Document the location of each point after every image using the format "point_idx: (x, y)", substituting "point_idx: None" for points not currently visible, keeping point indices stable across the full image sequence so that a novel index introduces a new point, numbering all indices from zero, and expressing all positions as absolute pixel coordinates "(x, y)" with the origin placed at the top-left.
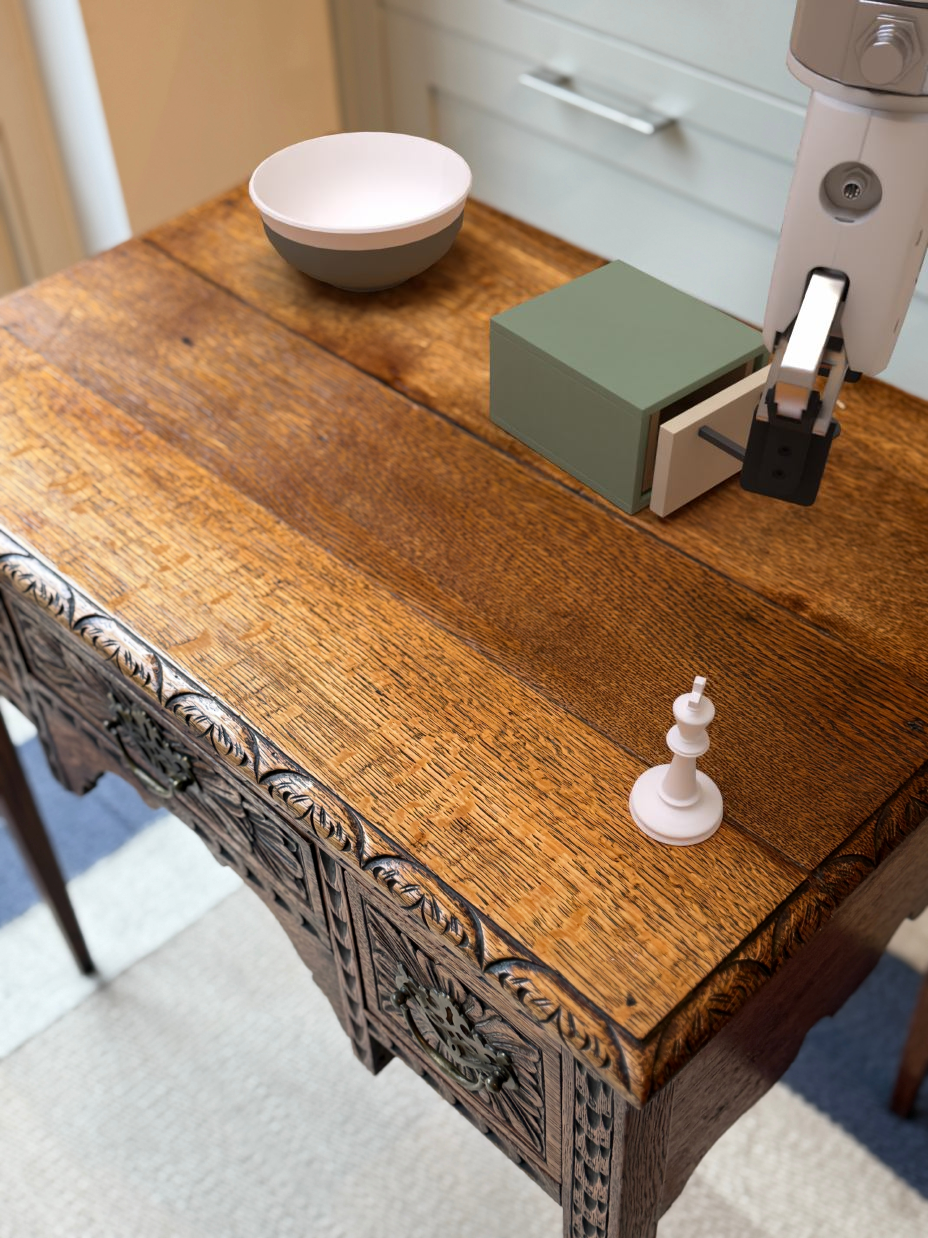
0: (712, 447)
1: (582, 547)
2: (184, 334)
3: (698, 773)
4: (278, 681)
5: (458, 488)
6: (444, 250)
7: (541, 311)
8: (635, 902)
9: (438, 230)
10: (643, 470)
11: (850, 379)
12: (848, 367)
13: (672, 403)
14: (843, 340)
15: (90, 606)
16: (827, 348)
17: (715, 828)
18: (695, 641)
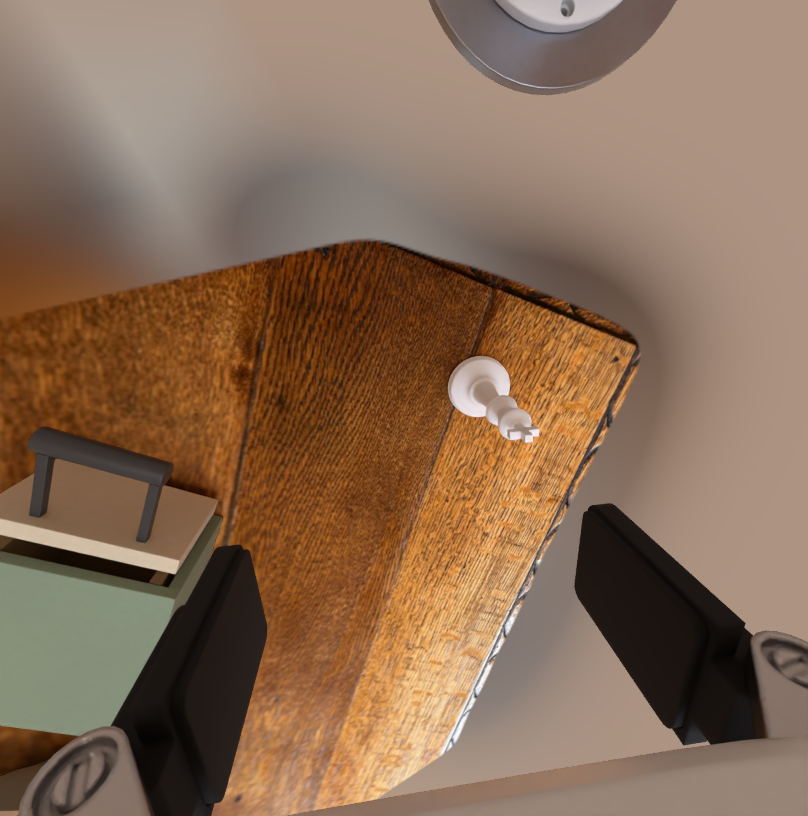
0: (136, 513)
1: (277, 529)
2: (232, 803)
3: (457, 384)
4: (479, 609)
5: (270, 617)
6: (21, 780)
7: (88, 721)
8: (553, 381)
9: (14, 812)
10: (196, 542)
11: (247, 558)
12: (243, 583)
13: (73, 553)
14: (230, 651)
15: (470, 701)
16: (243, 646)
17: (486, 357)
18: (326, 427)
